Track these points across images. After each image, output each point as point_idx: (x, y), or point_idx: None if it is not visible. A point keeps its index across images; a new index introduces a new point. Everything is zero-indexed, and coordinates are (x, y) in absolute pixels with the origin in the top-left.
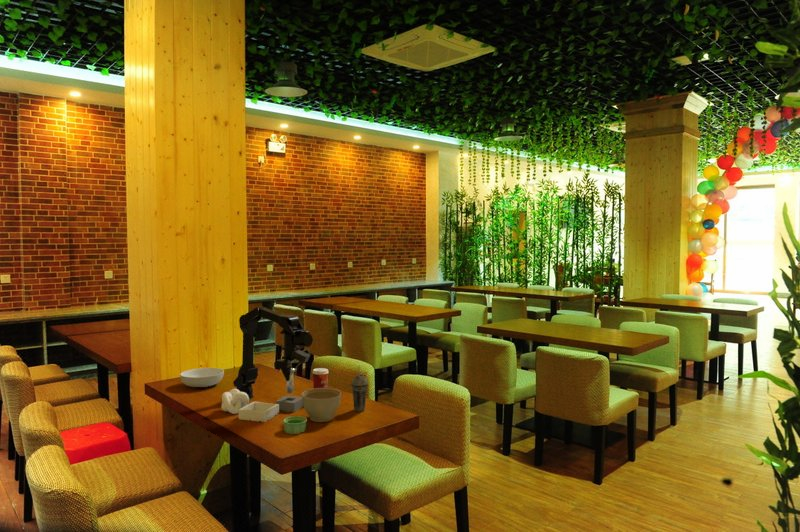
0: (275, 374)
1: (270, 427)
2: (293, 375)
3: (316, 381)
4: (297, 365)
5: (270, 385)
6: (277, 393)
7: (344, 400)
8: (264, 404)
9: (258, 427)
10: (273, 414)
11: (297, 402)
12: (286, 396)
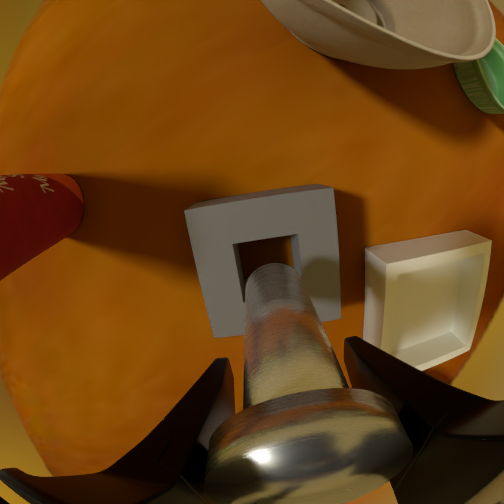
0: (42, 443)
1: (491, 176)
2: (286, 364)
3: (13, 226)
4: (138, 496)
5: (91, 439)
6: (123, 404)
7: (36, 98)
8: (390, 333)
9: (498, 216)
10: (418, 242)
11: (286, 192)
12: (227, 323)
